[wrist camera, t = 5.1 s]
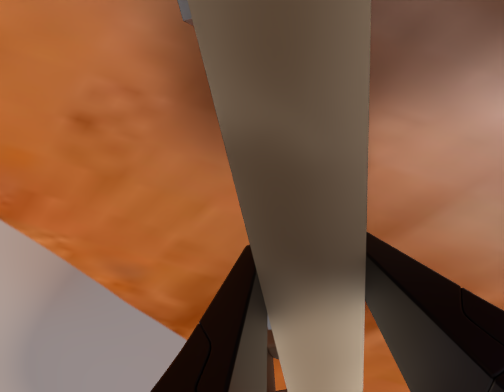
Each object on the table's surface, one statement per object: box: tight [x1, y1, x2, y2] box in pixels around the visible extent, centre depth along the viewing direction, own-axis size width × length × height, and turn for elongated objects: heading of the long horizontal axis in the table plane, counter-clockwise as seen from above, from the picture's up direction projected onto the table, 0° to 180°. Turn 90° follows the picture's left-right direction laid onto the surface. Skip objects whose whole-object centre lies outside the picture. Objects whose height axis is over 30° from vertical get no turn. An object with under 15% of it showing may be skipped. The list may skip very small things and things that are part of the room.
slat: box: [187, 0, 371, 392], centre depth 9 cm, size 3×22×3 cm, turn 11°
